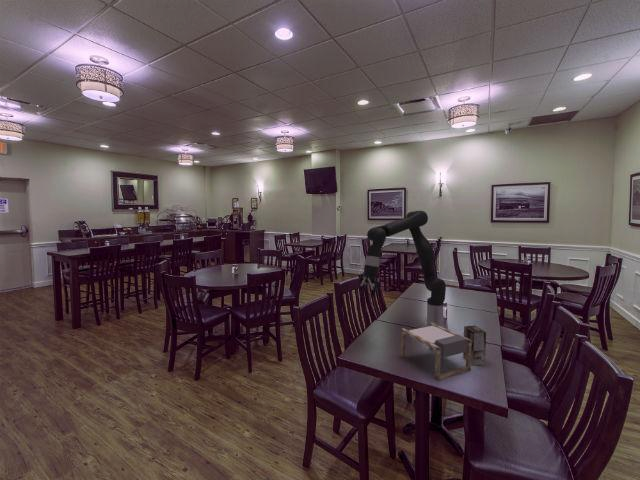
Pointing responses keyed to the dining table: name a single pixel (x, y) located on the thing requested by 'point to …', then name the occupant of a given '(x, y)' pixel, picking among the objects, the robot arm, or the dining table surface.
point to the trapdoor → (443, 340)
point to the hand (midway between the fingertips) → (367, 295)
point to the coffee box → (476, 344)
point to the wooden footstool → (438, 352)
